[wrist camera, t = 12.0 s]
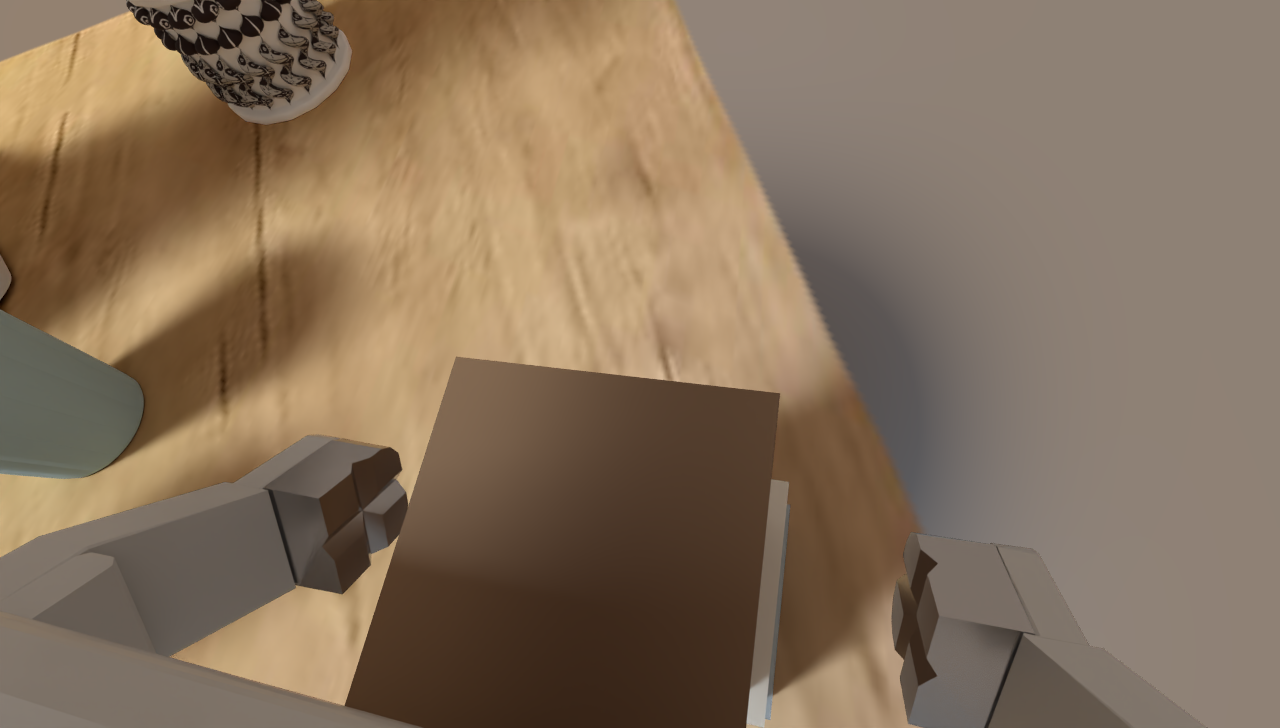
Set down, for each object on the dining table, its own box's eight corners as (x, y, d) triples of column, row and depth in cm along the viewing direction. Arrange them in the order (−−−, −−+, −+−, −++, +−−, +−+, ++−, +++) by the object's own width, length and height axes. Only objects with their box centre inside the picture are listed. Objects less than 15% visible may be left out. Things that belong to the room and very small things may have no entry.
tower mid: (576, 657, 18) (533, 670, 14) (614, 479, 20) (583, 449, 16) (760, 701, 17) (763, 728, 13) (780, 507, 19) (788, 481, 15)
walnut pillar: (575, 655, 14) (342, 713, 6) (608, 490, 16) (456, 356, 7) (742, 694, 13) (736, 822, 5) (761, 515, 15) (780, 393, 7)
